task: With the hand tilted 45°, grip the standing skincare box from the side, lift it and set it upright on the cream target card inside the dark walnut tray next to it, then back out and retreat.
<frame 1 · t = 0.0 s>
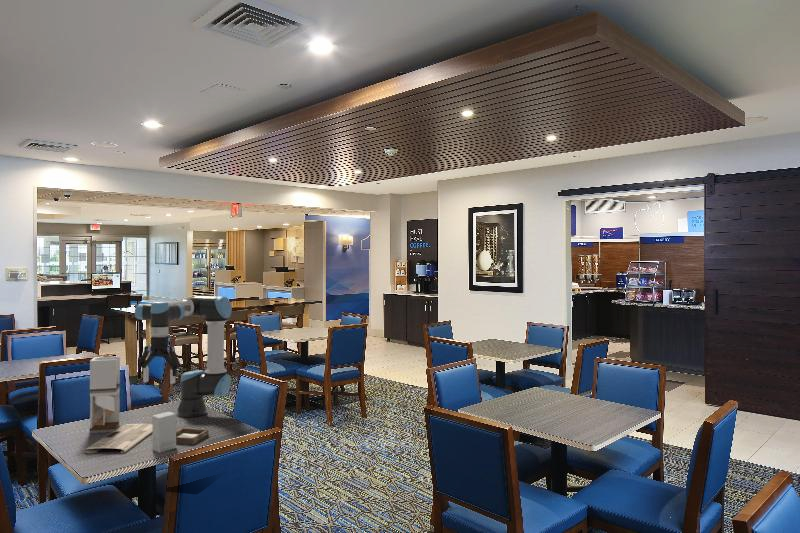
hand: (159, 382, 254), 28 cm above the table, tool pointing down, fingers open, 13 cm apart
skincare box: (164, 449, 247), on the table
walnut tray: (187, 439, 261), on the table
paper towel dispenser: (104, 429, 275), on the table
newspaper: (126, 441, 260), on the table
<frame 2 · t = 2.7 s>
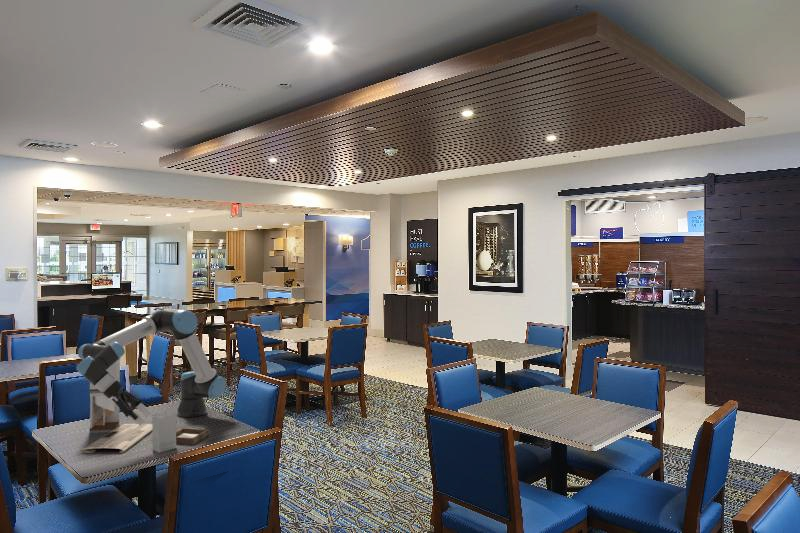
hand: (146, 419, 245), 14 cm above the table, tool tilted 45°, fingers open, 13 cm apart
newspaper: (124, 441, 260), on the table
everything else where it was.
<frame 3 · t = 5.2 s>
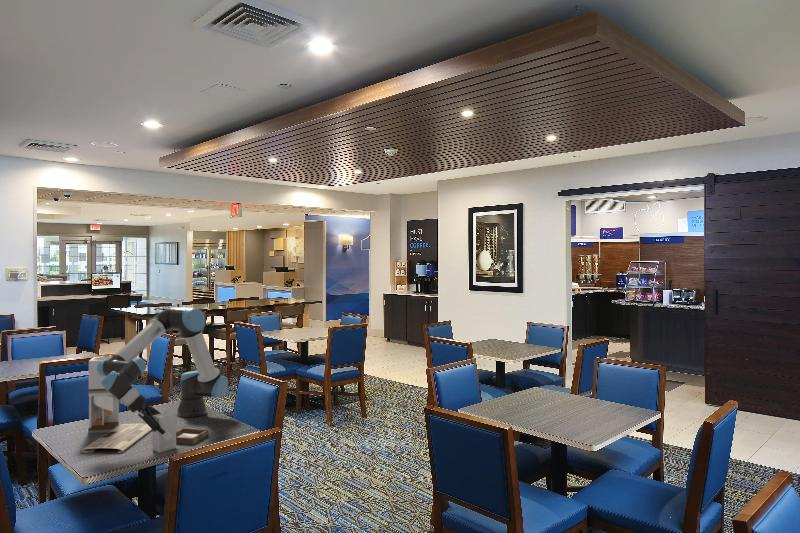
hand: (171, 434, 248), 6 cm above the table, tool tilted 45°, fingers closed on skincare box, 10 cm apart
skincare box: (164, 449, 247), on the table, touching gripper
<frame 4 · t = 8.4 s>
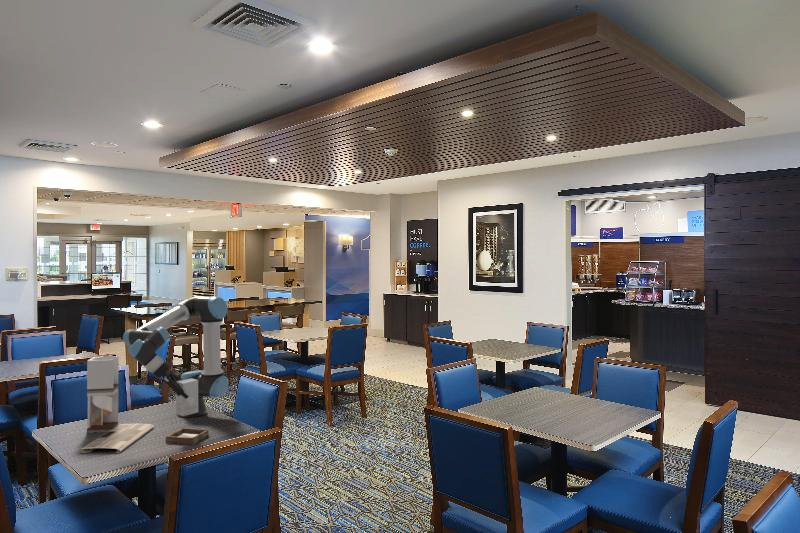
hand: (194, 399, 262), 19 cm above the table, tool tilted 45°, fingers closed on skincare box, 10 cm apart
skincare box: (187, 413, 261), point 12 cm above the table, touching gripper
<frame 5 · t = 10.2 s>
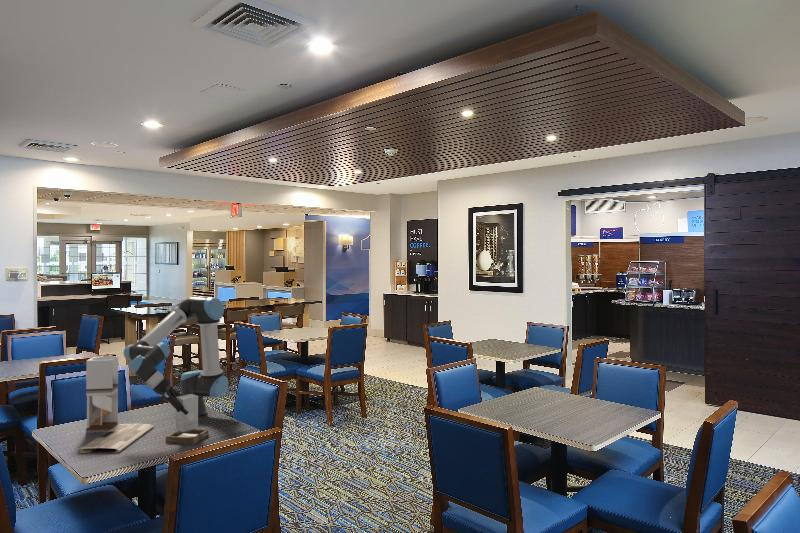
hand: (194, 415, 262), 11 cm above the table, tool tilted 45°, fingers closed on skincare box, 10 cm apart
skincare box: (186, 429, 261), point 4 cm above the table, touching gripper
when the fingers open (9 cm above the table, at t = 11.8 s): skincare box drops 1 cm, resting on walnut tray.
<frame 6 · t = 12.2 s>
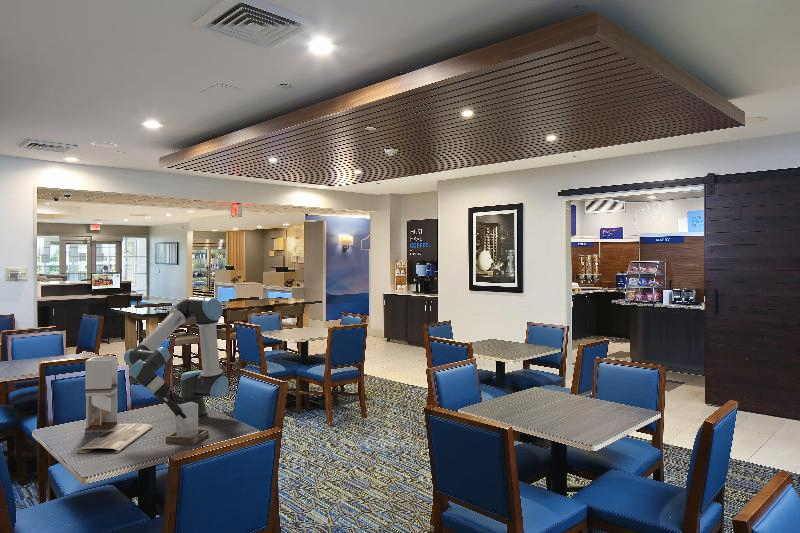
hand: (192, 418, 262), 10 cm above the table, tool tilted 45°, fingers open, 13 cm apart
skincare box: (187, 437, 261), point 1 cm above the table, touching walnut tray
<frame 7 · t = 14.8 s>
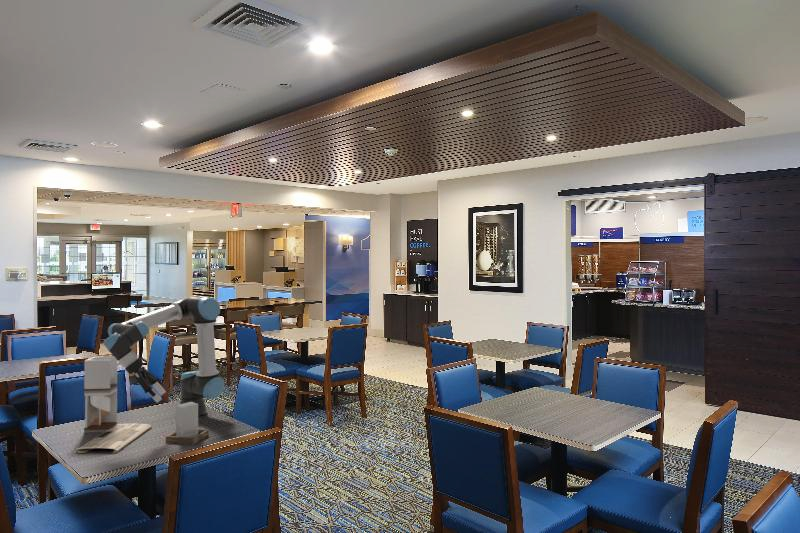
hand: (161, 397, 262), 19 cm above the table, tool tilted 40°, fingers open, 13 cm apart
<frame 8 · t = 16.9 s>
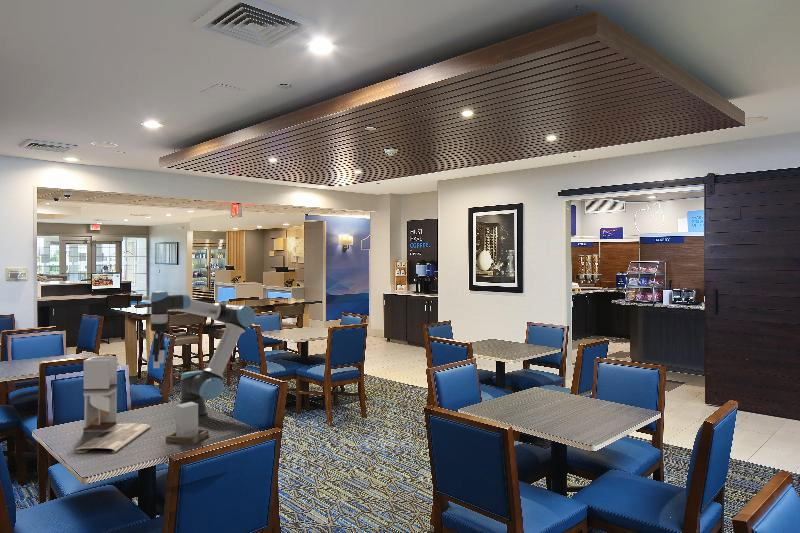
hand: (158, 365, 275), 32 cm above the table, tool pointing down, fingers open, 13 cm apart
at the end: skincare box inside the target area on the walnut tray (0.4 cm from its centre), point 0.8 cm above the walnut tray's base; skincare box tilted 0°; the gripper is holding nothing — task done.
